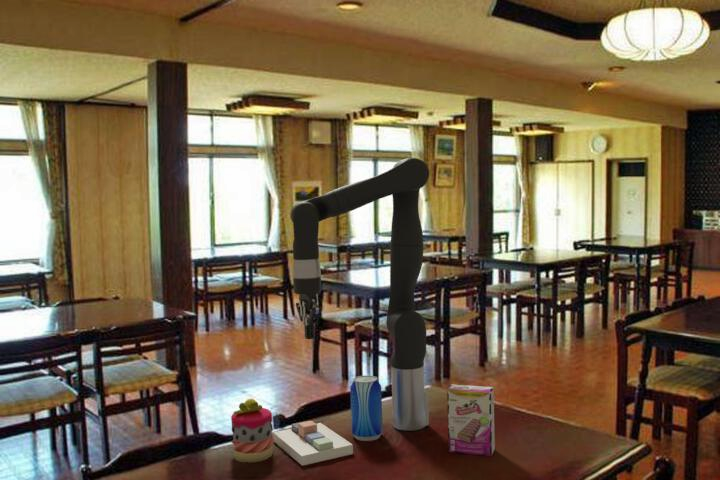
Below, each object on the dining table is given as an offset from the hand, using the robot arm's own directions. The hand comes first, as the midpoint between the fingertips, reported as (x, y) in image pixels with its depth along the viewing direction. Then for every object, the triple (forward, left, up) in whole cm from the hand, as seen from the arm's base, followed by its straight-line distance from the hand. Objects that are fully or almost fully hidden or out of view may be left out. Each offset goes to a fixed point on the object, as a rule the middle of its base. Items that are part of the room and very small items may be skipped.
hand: (309, 338), depth 185 cm
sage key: (+4, +15, -27) cm, 31 cm away
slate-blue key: (+4, +10, -27) cm, 29 cm away
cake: (+19, +5, -27) cm, 33 cm away
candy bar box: (-29, +33, -27) cm, 52 cm away
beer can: (-12, +9, -27) cm, 31 cm away
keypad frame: (+4, +8, -27) cm, 28 cm away
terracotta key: (+4, +6, -25) cm, 26 cm away
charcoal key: (+4, +1, -27) cm, 27 cm away
